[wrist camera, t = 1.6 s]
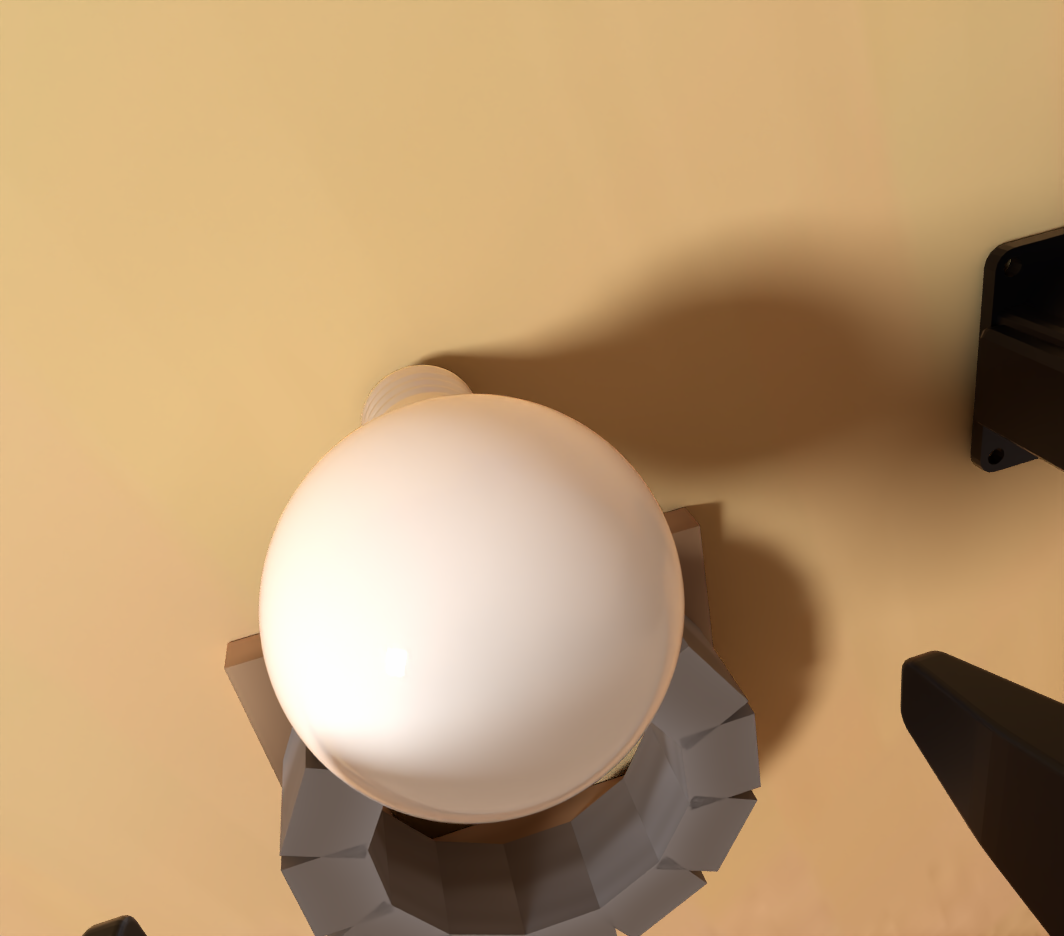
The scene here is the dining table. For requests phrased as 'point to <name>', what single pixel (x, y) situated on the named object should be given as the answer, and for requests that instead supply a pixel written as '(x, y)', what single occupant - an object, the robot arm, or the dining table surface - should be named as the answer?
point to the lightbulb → (470, 604)
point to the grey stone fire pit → (528, 817)
